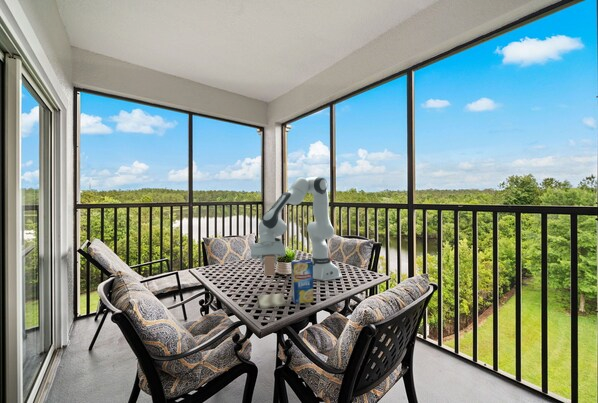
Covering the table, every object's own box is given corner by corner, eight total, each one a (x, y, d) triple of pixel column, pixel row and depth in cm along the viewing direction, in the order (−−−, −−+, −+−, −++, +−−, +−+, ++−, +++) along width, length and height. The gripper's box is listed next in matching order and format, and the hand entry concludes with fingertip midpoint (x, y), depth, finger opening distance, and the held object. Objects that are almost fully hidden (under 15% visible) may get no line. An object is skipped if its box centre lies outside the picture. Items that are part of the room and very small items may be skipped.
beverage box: (291, 298, 147) (291, 260, 146) (310, 296, 149) (309, 259, 148) (294, 303, 140) (293, 264, 139) (313, 301, 142) (313, 262, 142)
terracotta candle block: (273, 272, 150) (273, 255, 150) (274, 274, 145) (274, 257, 144) (264, 272, 149) (263, 255, 148) (265, 275, 143) (264, 258, 143)
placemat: (281, 295, 152) (281, 293, 152) (286, 305, 138) (286, 303, 138) (257, 297, 148) (257, 295, 148) (260, 308, 135) (260, 306, 135)
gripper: (249, 240, 150) (250, 261, 141) (284, 238, 155) (287, 259, 146) (249, 246, 155) (250, 267, 146) (282, 244, 160) (285, 264, 150)
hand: (269, 263), depth 146 cm, fingers closed on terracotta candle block, 5 cm apart
